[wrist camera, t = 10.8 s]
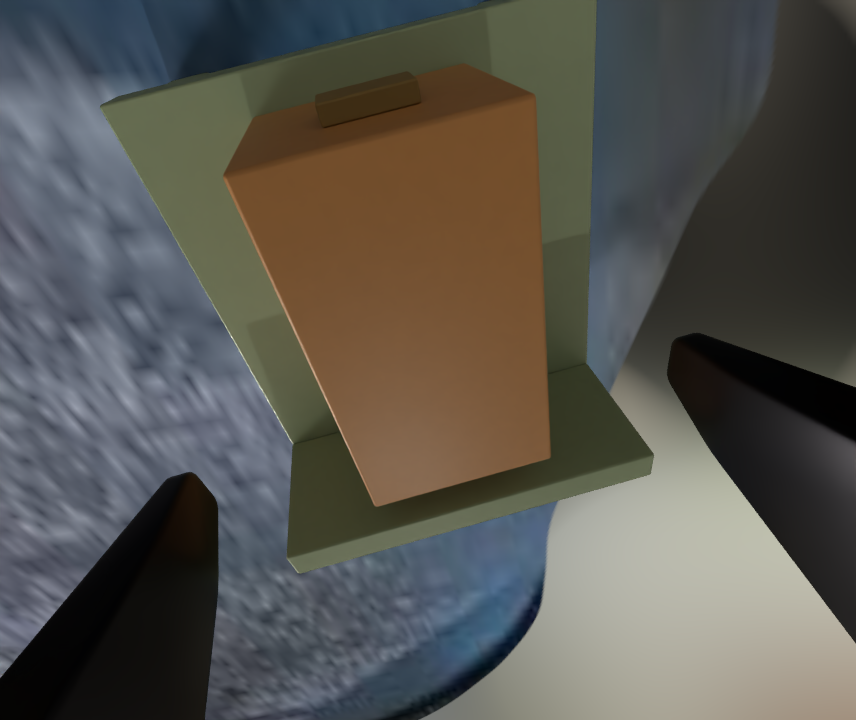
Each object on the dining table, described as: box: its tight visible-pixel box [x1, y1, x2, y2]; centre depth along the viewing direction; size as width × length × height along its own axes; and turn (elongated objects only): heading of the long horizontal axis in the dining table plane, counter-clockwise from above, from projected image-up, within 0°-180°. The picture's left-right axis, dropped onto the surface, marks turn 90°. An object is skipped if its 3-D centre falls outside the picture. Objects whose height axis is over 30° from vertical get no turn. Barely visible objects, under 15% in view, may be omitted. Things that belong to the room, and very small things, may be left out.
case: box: [223, 63, 551, 507], centre depth 12 cm, size 9×5×4 cm, turn 12°
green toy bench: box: [100, 0, 654, 574], centre depth 14 cm, size 12×11×9 cm
